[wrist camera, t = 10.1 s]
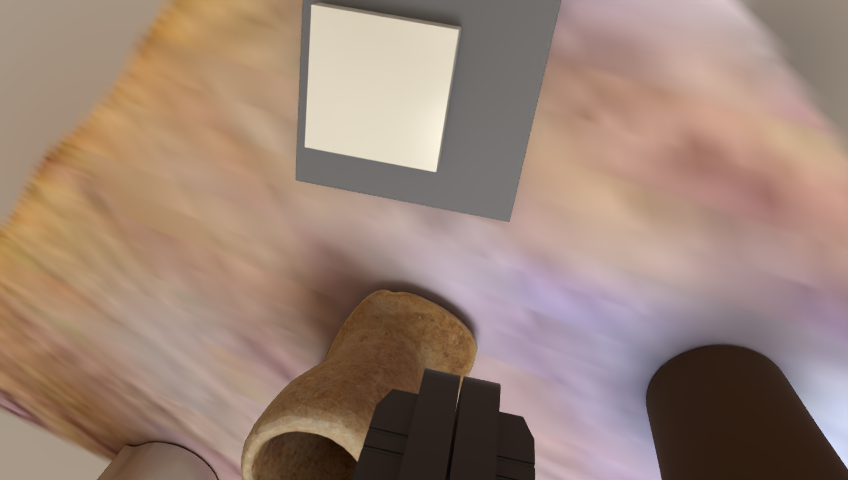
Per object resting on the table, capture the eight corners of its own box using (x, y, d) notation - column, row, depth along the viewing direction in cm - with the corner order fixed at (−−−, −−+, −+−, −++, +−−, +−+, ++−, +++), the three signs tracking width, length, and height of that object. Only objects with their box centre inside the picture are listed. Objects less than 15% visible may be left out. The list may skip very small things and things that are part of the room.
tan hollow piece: (352, 248, 41) (269, 392, 28) (499, 327, 42) (487, 503, 29) (278, 387, 48) (183, 556, 35) (406, 452, 49) (361, 640, 36)
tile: (439, 162, 36) (313, 138, 36) (462, 26, 32) (321, 2, 33) (436, 172, 34) (304, 147, 35) (459, 29, 30) (311, 4, 31)
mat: (301, 173, 39) (295, 180, 38) (312, -61, 32) (305, -61, 31) (509, 214, 38) (509, 222, 37) (563, -20, 31) (565, -19, 30)
